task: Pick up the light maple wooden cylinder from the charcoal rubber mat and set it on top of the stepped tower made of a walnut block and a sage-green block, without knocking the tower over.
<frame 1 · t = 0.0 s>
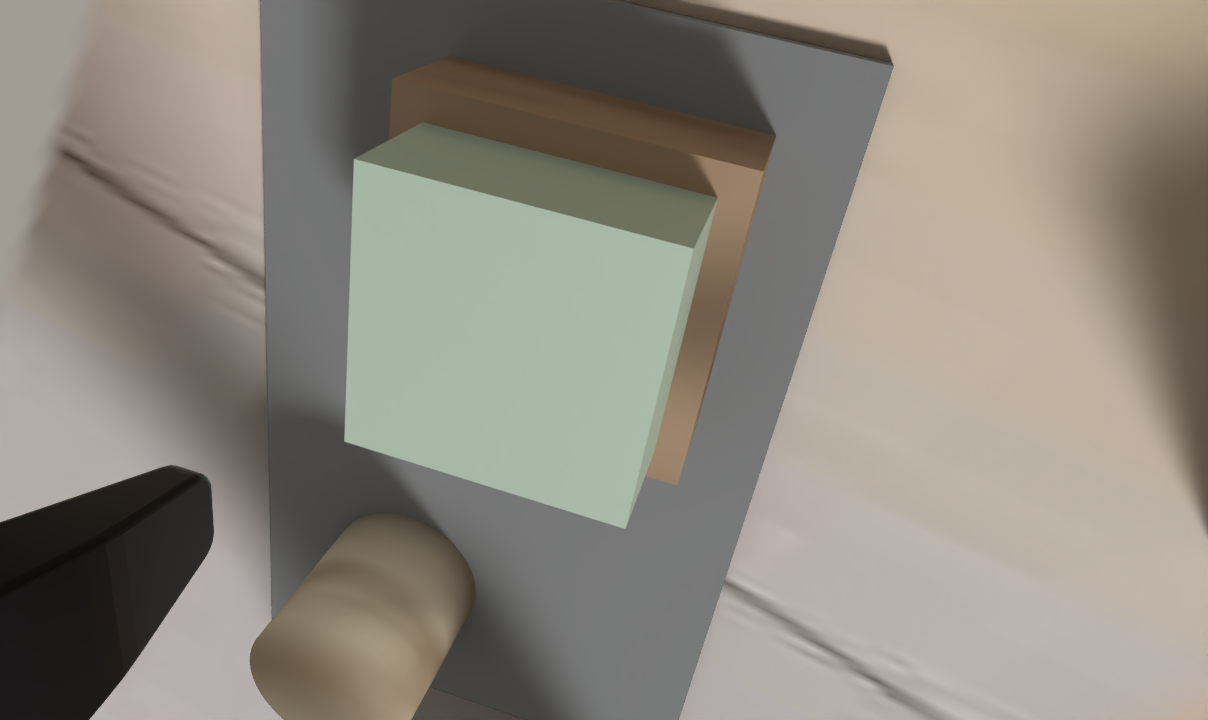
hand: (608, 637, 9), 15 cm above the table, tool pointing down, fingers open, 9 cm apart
rubber mat: (504, 418, 26), on the table
maple cylinder: (405, 574, 30), resting on rubber mat
sage top block: (545, 296, 20), point 3 cm above the table, touching walnut base block
walnut base block: (581, 250, 23), resting on rubber mat, touching sage top block
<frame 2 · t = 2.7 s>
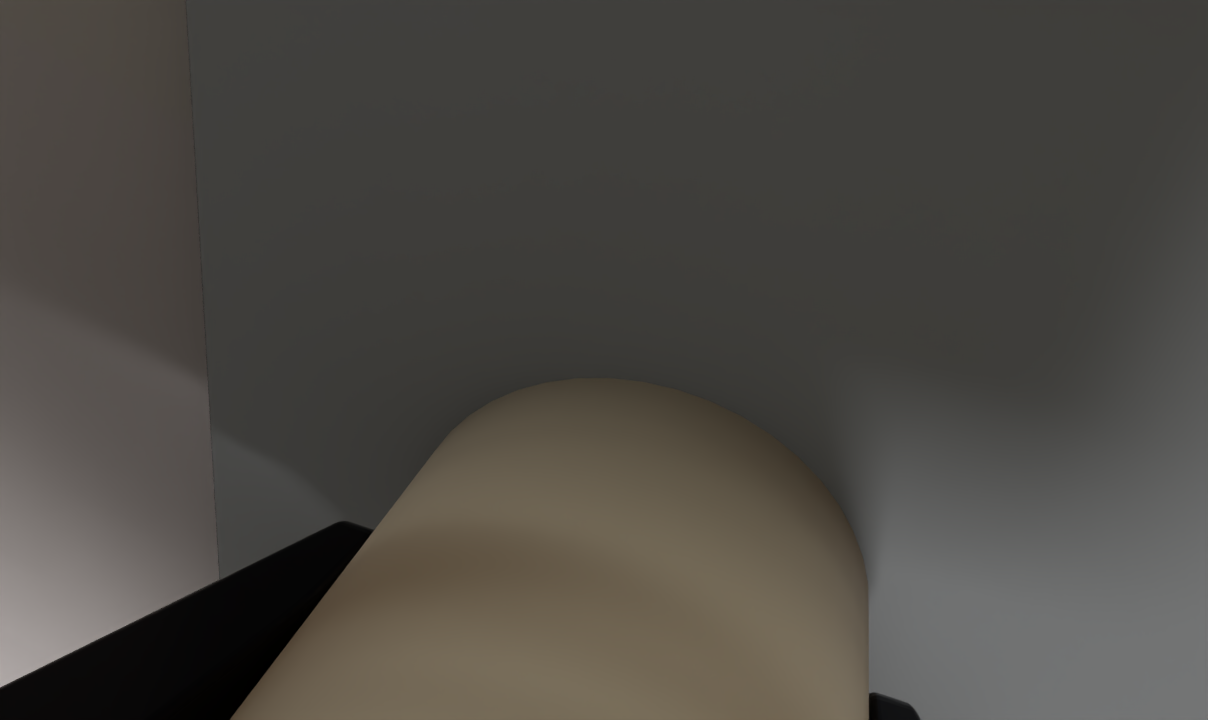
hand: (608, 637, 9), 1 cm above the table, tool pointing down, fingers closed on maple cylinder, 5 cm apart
maple cylinder: (627, 582, 10), resting on rubber mat, touching gripper
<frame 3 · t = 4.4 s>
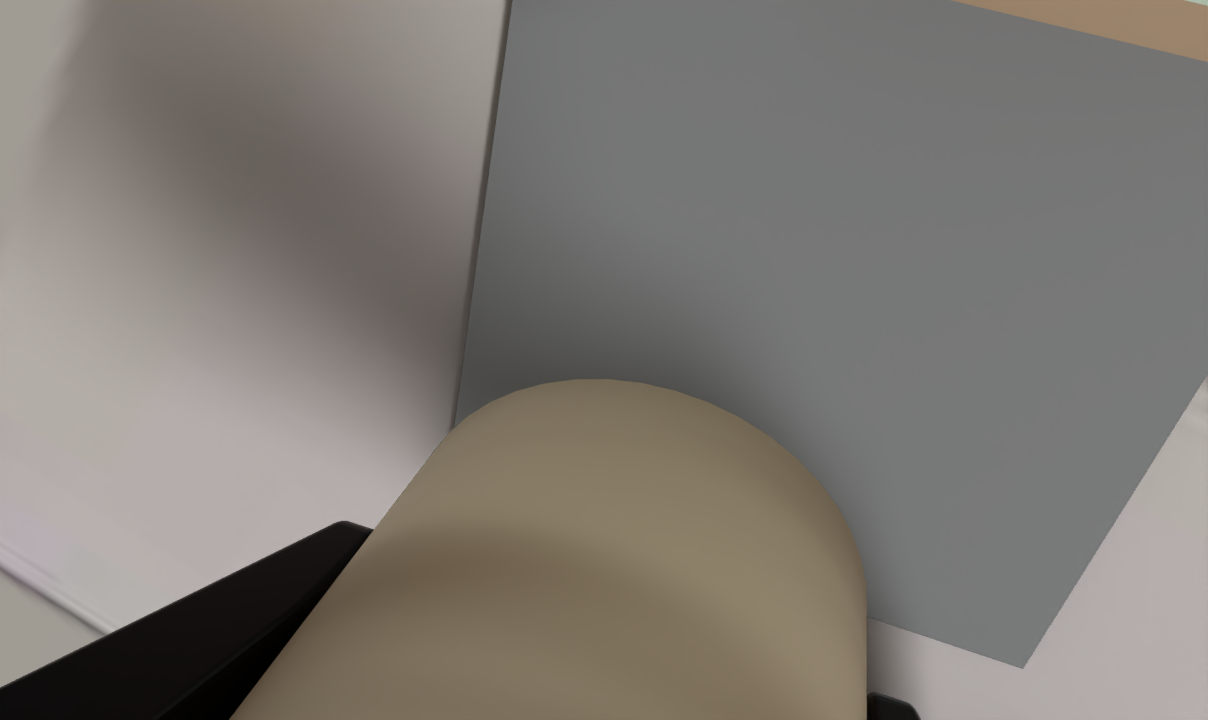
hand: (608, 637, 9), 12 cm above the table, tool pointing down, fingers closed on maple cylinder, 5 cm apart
rubber mat: (889, 91, 17), on the table
maple cylinder: (625, 583, 10), point 11 cm above the table, touching gripper
when the fingers open (8 cm above the table, at t = 6.1 s): maple cylinder drops 1 cm, resting on sage top block.
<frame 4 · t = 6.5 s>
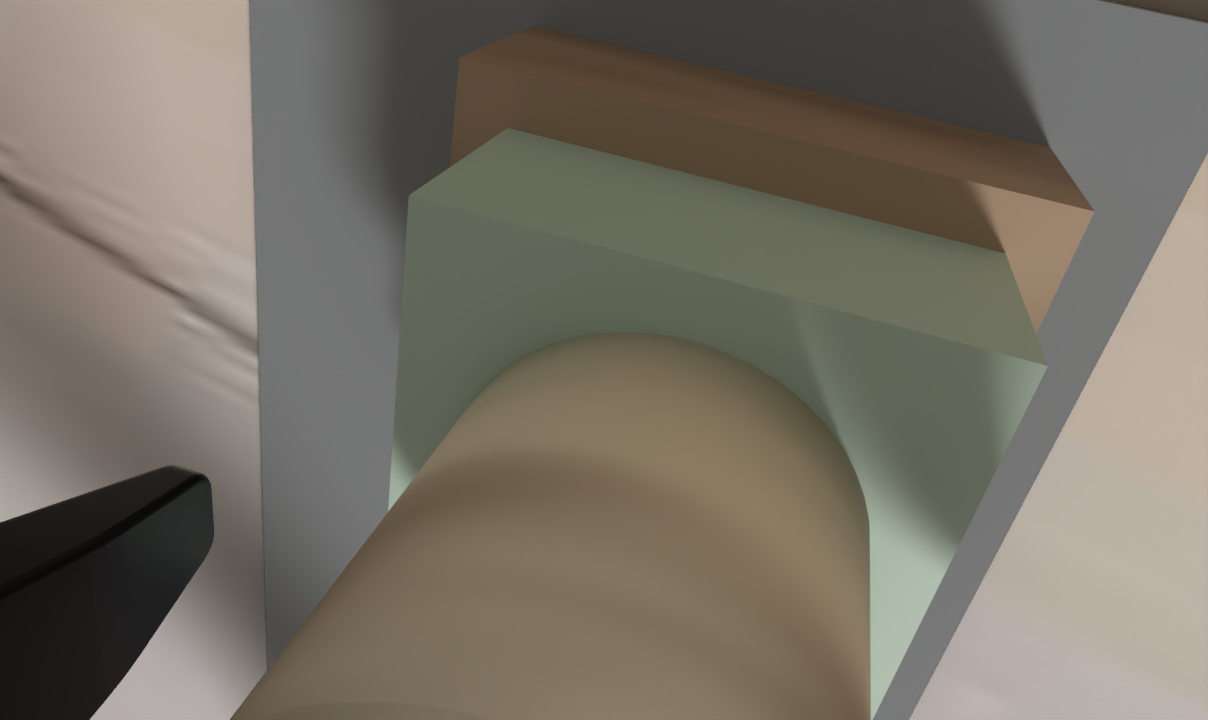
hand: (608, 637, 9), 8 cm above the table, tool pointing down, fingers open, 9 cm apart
rubber mat: (588, 533, 19), on the table
maple cylinder: (647, 524, 10), point 6 cm above the table, touching sage top block
sage top block: (691, 399, 13), point 3 cm above the table, touching maple cylinder, walnut base block
walnut base block: (719, 314, 16), resting on rubber mat, touching sage top block
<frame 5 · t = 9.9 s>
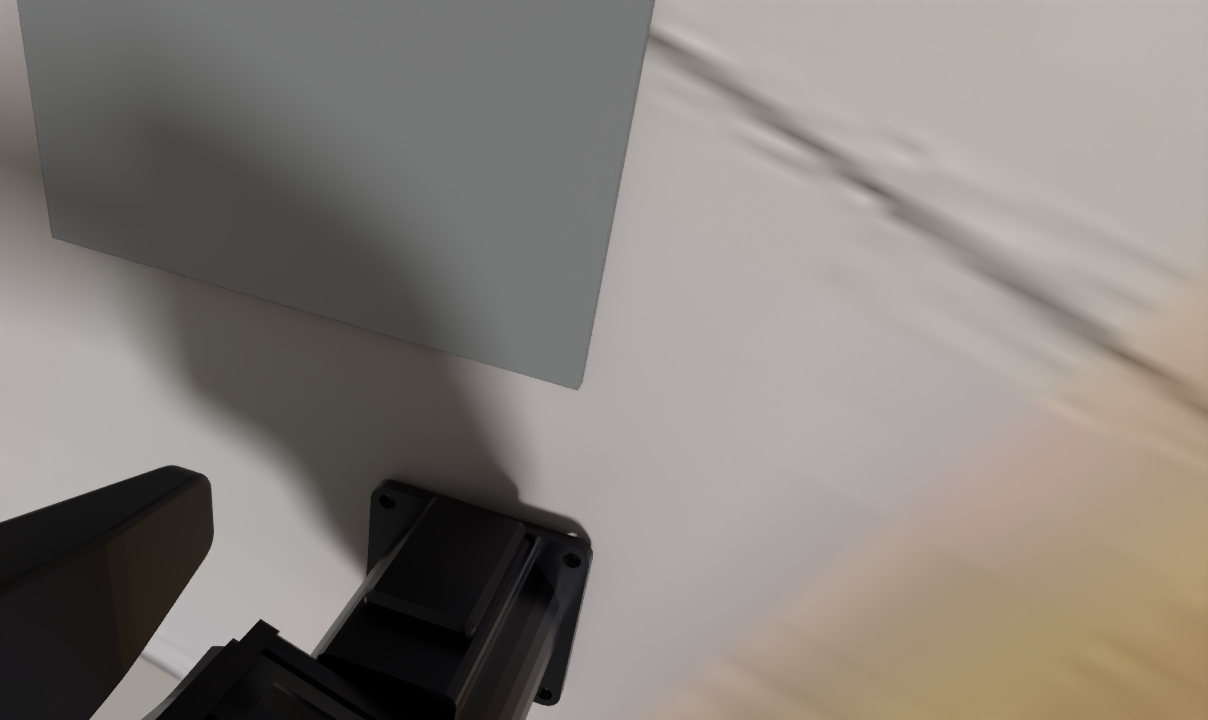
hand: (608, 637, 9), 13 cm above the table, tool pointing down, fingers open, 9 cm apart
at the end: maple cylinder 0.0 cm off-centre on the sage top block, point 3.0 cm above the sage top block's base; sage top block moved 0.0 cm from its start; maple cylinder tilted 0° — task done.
